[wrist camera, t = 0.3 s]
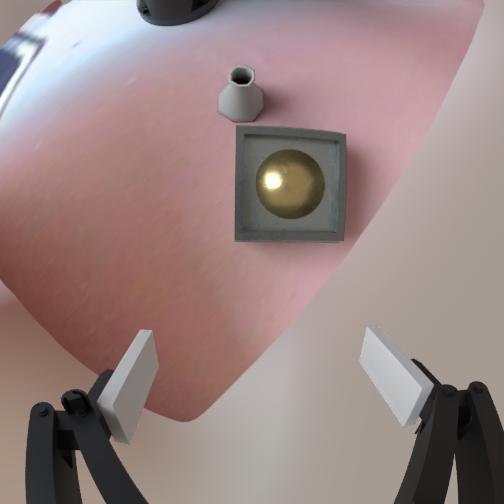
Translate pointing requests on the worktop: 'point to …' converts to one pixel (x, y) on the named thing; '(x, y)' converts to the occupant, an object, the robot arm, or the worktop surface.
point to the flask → (241, 96)
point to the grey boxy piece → (289, 185)
